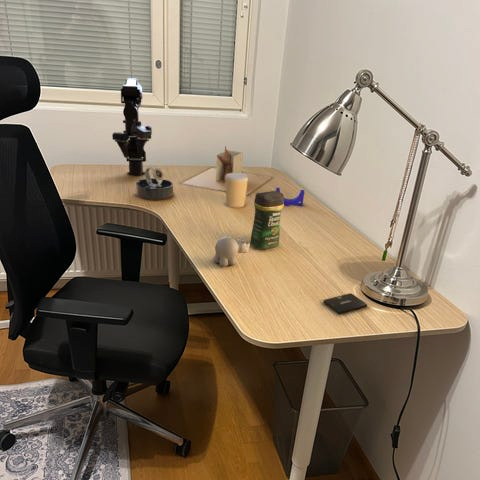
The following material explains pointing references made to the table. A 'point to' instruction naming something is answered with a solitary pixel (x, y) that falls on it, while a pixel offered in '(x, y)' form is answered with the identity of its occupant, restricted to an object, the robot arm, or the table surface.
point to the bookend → (225, 165)
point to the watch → (157, 175)
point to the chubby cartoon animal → (229, 250)
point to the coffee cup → (236, 189)
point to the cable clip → (295, 200)
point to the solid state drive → (345, 303)
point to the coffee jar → (267, 219)
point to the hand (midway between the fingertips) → (133, 156)
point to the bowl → (154, 190)
